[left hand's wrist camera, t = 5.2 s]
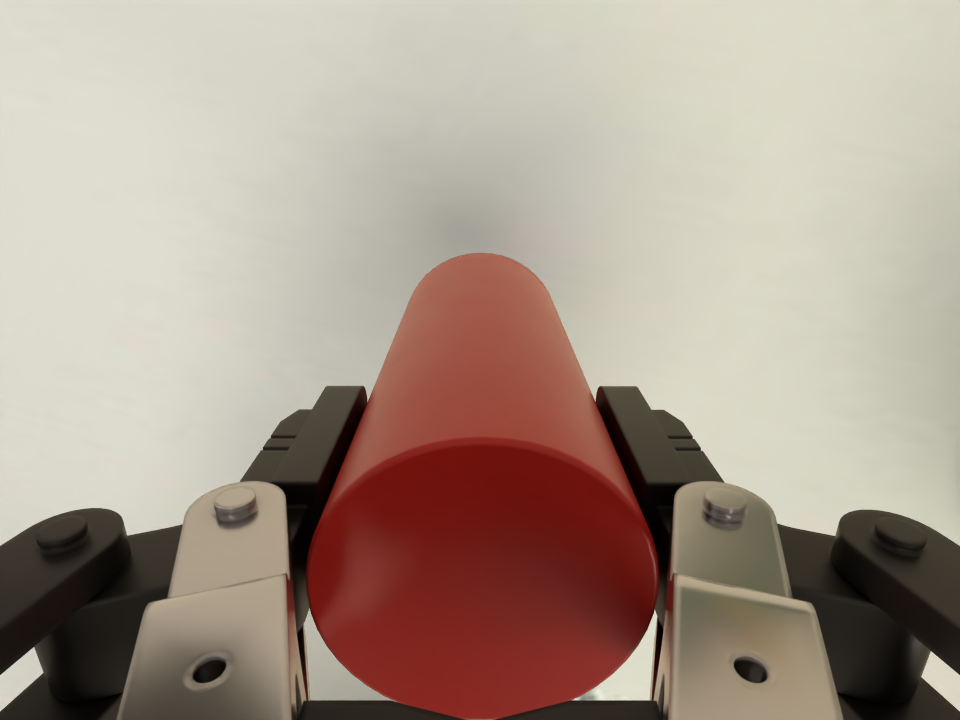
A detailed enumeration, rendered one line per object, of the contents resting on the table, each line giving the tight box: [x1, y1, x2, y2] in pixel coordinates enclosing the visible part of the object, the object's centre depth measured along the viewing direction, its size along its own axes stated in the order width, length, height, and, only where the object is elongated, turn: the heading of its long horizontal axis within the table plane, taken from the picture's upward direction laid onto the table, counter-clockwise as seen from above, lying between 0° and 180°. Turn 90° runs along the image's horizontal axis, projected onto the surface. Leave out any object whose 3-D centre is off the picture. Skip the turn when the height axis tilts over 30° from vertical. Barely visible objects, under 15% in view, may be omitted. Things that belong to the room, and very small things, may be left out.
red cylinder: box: [305, 253, 659, 719], centre depth 13 cm, size 5×5×11 cm
